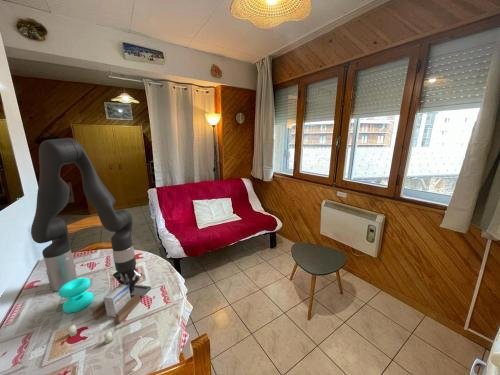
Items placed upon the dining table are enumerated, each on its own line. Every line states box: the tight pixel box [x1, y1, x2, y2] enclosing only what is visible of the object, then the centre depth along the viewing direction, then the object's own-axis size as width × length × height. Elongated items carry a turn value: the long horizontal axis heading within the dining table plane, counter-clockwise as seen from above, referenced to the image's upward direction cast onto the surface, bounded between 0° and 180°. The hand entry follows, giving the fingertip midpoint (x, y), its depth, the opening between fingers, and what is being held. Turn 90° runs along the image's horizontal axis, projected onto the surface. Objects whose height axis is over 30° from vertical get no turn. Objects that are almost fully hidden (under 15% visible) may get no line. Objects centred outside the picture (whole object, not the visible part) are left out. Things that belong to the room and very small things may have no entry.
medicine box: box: [103, 283, 132, 318], centre depth 81 cm, size 8×4×9 cm, turn 168°
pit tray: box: [130, 284, 152, 299], centre depth 91 cm, size 10×6×1 cm, turn 79°
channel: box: [92, 293, 142, 324], centre depth 81 cm, size 11×11×4 cm
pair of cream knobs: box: [67, 324, 114, 345], centre depth 69 cm, size 17×2×3 cm, turn 79°
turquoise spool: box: [57, 277, 95, 314], centre depth 83 cm, size 10×10×10 cm
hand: (130, 292), depth 87 cm, fingers closed
